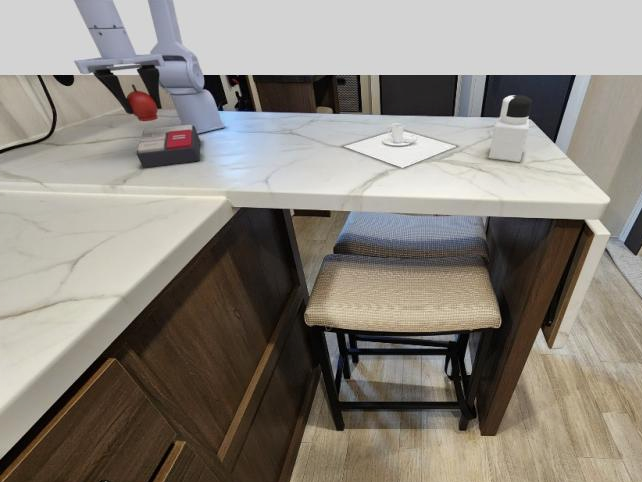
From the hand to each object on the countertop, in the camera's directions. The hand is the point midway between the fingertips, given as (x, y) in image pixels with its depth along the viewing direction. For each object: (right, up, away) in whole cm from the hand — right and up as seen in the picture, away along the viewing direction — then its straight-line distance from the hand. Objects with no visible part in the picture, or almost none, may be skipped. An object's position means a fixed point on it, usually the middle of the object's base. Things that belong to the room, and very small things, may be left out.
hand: (144, 110), depth 70 cm
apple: (0, -1, +1) cm, 2 cm away
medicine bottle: (+80, -6, +8) cm, 80 cm away
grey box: (+2, -7, +7) cm, 9 cm away
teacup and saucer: (+55, -2, +12) cm, 56 cm away
